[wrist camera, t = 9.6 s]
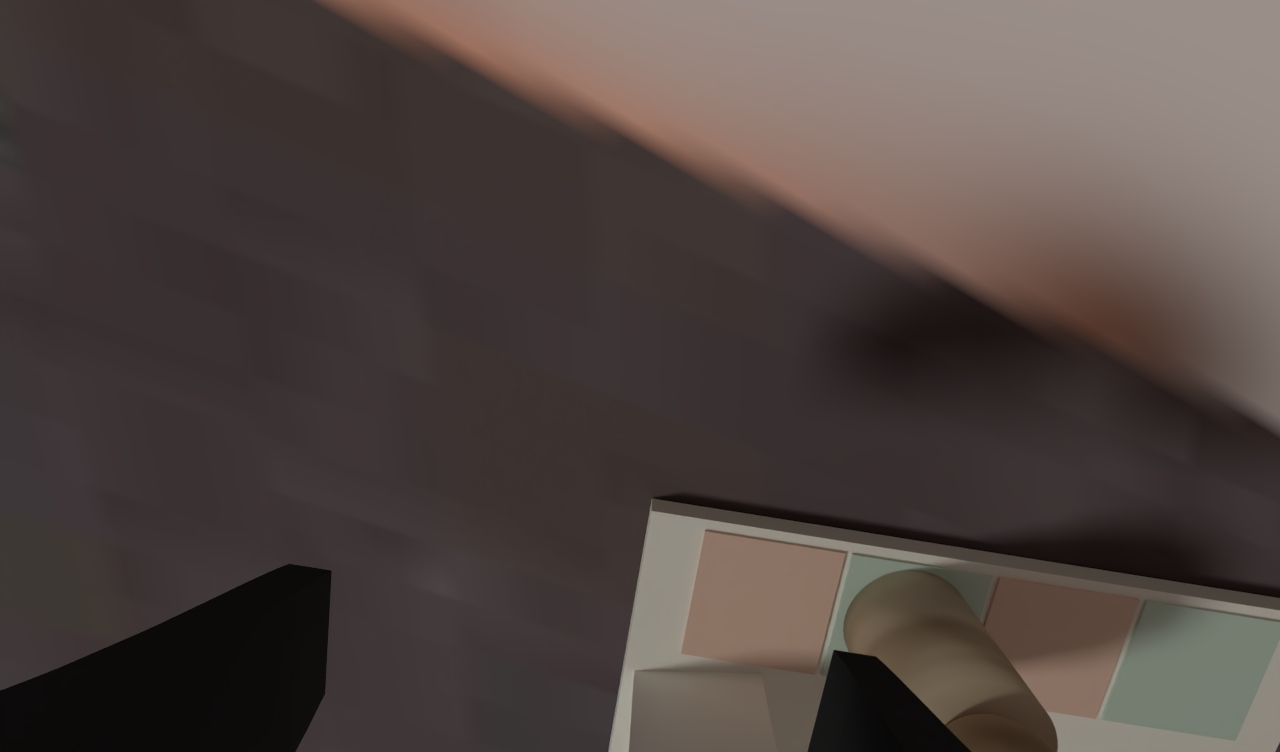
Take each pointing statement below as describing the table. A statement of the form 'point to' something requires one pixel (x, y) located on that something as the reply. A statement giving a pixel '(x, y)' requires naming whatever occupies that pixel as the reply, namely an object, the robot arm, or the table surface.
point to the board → (998, 595)
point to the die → (699, 713)
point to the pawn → (948, 662)
